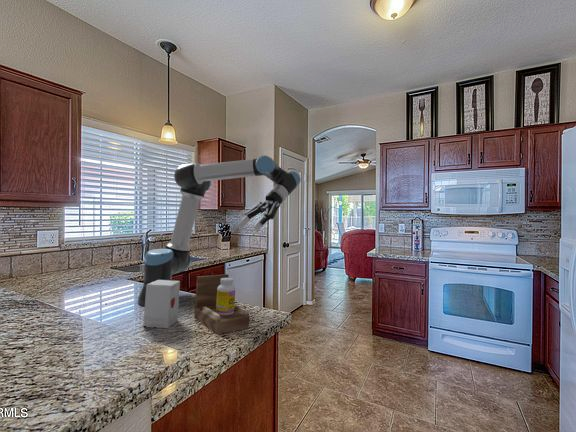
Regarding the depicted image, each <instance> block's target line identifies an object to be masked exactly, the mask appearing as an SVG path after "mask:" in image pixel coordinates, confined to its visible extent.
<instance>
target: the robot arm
mask: <svg viewBox="0 0 576 432" xmlns="http://www.w3.org/2000/svg"><path fill="white" fill-rule="evenodd" d="M260 176H262V177H263V176H265V177H266V178H268V180H270V181H271V182H273V183H275V186H274V187H273V188H272V189H271V190H270V191H269V192H268V193H267V194H266V195H265V201H263V202H262V201H259V202H258V203H257V204H256V205H255V206H253V207H252V208H250V209H249V210H248V211H246V212H245V213H243V214H244V217H243V218H242V219H241V220H240V221H239V222H238V223H237V224H236V226H237V228H238V230H240V231H241V230H242V229H243V228H244V227H245V226H247V224H248V223H249V222H250V221H251V219H252V218H254V217H256V216H257V215H259V214H262V213H264V214H263V215H262V216H261V218H259V219H258V221H256V223H255V224H254V225H253V226H252V227H253V229H254V230H255V232H259V231H260V230H261V228H262V227H263V226H264V225H265V224H266V223H267V222H268V221H270V220H274V219H275V216H276V214H277V211H278V210H279V208H280V207H281V204H283V202H284V201H286V200H287V198H288V197H289V196H290V195H291V194H292V193H293V192H294V190H295V189H296V188H297V187H298V186H299V185H300V183H301V180H302V179H301V176H300V175H299V174H298V173H297V171H294V170H291V171H288V172H287V171H286V170H284V169H283V168H282V167H280V166H279V165H278V164H277V163H276V162H275V161H274V159H273V158H272V157H271V156H269V155H260V156H259V157H257V158H252V159H251V158H250V159H242V160H234V161H233V160H232V161H223V162H216V163H215V162H214V163H213V162H212V163H204V164H201V163H199V162H193V163H191V162H190V163H184V164H181V165H179V166H178V167H177V168H176V169H175V171H174V176H173V178H174V181H175V183H176V184H177V186H178V187H180V190H179V192H180V194H181V195H182V196H181V200H180V203H179V209H178V211H177V214H176V215H177V216H176V219H175V222H174V228H173V231H172V233H171V234H172V235H171V238H170V239H171V240H170V241H169V242H168V243H167V244H166V246H165V248H157V249H156V248H155V249H151V250H148V251H146V253H145V257H144V258H145V259H144V260H143V261H144V267H143V268H144V269H143V270H144V271H143V283H142V287H141V289H140V292H139V294H138V296H137V297H138V298H137V304H138V305H140V306H142V307H143V306H144V307H145V297H146V285H147V284H149V283H151V282H154V281H157V280H170V281H173V280H172V279H173V277H172V276H173V275H175V274H180V273H183V272H184V271H185V270H187V269H188V268H189V267H190V265H191V262H192V256H191V254H190V251H191V248H190V246H189V243H190V240H191V236H192V232H193V228H194V225H195V221H196V217H197V212H198V209H199V205H200V201H201V200H202V199H203V198H204V197H205V194H206V192H207V191H209V189H210V187H211V184H212V181H220V180H230V179H231V180H232V179H239V178H248V177H249V178H251V177H260Z"/></svg>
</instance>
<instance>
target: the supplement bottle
mask: <svg viewBox="0 0 576 432" xmlns="http://www.w3.org/2000/svg"><path fill="white" fill-rule="evenodd" d="M220 282H221V285H219V286H218V288H217V302H216V313H217V314H219V315H222V316H228V315H232V314H233V313H234V304H236V302H235V301H236V300H235V299H236V287H235V285H233V283H234V278H232V277H228V278H221V281H220Z"/></svg>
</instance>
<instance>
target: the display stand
mask: <svg viewBox="0 0 576 432" xmlns="http://www.w3.org/2000/svg"><path fill="white" fill-rule="evenodd" d="M221 278H229V274H227V273H226V274H225V273H224V274H214V275H213V274H212V275H201V276H200V275H199V276H198V275H197V276H196V284H195V285H196V288H195V301H194V302H195V303H194V316H193V318H194V319H196V320H198V322H200V323H201V324H202V325H204V326H205V327H206V328H208V329H209V330H210V331H211V332H212V333H215V334H216V335H219V334H223V333H227V332H232V331H233V332H234V331H237V330H241V329H247V328H250V320H251V318H250V315H249V310H248V309H247V308H246V309H245V308H244V307H242V306H241V305H238V304H236V303H235V304H234V313H233V314H232V315H228V316H222V315H219V314H217V313H216V302H217V288H218V286H219V285H221V282H220V281H221Z"/></svg>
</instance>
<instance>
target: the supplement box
mask: <svg viewBox="0 0 576 432" xmlns="http://www.w3.org/2000/svg"><path fill="white" fill-rule="evenodd" d="M180 286H181V281H180V280H172V281H170V280H157V281H154V282H151V283H149V284H147V285H146V297H145V306H144V312H143V326H146V327H145V328H154V327H156V328H157V329H169V328H170V327H172V325H174V324H176V322H177V321H178V318H179V317H178V316H179V305H180V304H179V303H180V291H181V290H180ZM143 326H142V327H143ZM156 328H155V329H156Z"/></svg>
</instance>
